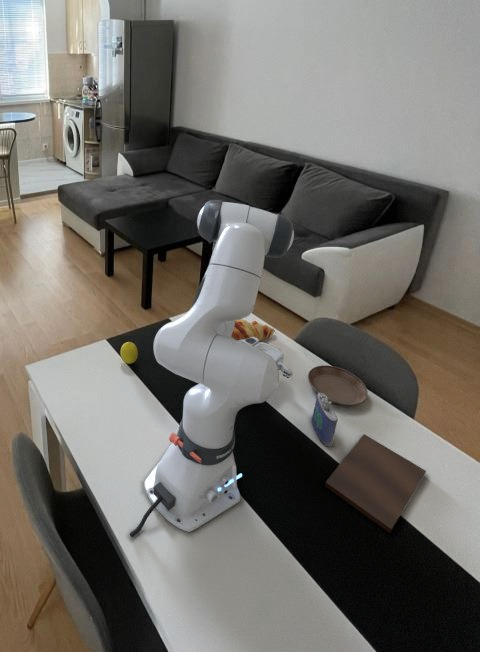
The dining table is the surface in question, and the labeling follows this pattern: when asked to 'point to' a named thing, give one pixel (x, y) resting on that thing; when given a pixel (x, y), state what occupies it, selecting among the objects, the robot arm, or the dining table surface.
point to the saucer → (337, 385)
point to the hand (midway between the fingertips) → (281, 383)
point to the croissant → (251, 330)
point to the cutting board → (376, 482)
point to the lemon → (129, 352)
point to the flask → (324, 420)
